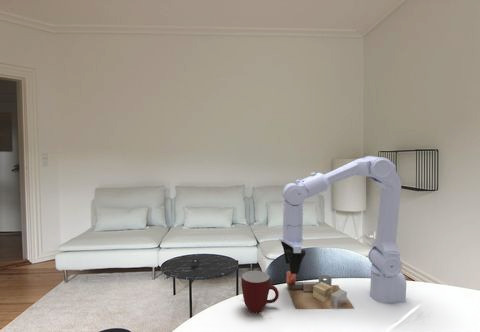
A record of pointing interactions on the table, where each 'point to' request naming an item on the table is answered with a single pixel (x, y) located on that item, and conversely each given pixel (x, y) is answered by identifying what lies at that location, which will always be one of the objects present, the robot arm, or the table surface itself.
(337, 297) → the brown grey rectangular block
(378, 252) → the robot arm
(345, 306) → the board
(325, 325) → the table surface
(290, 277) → the lever
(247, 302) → the mug
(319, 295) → the tan cube
